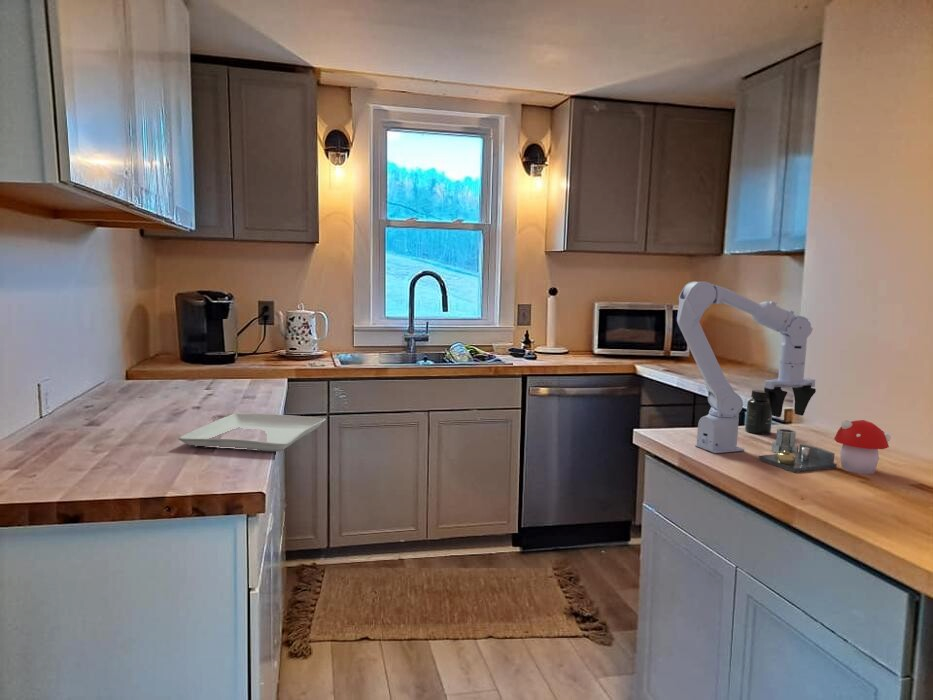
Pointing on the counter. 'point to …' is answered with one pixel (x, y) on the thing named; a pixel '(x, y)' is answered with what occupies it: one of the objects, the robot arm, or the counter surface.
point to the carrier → (802, 459)
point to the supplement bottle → (758, 413)
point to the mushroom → (861, 445)
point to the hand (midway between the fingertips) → (787, 415)
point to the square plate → (275, 426)
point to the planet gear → (785, 441)
